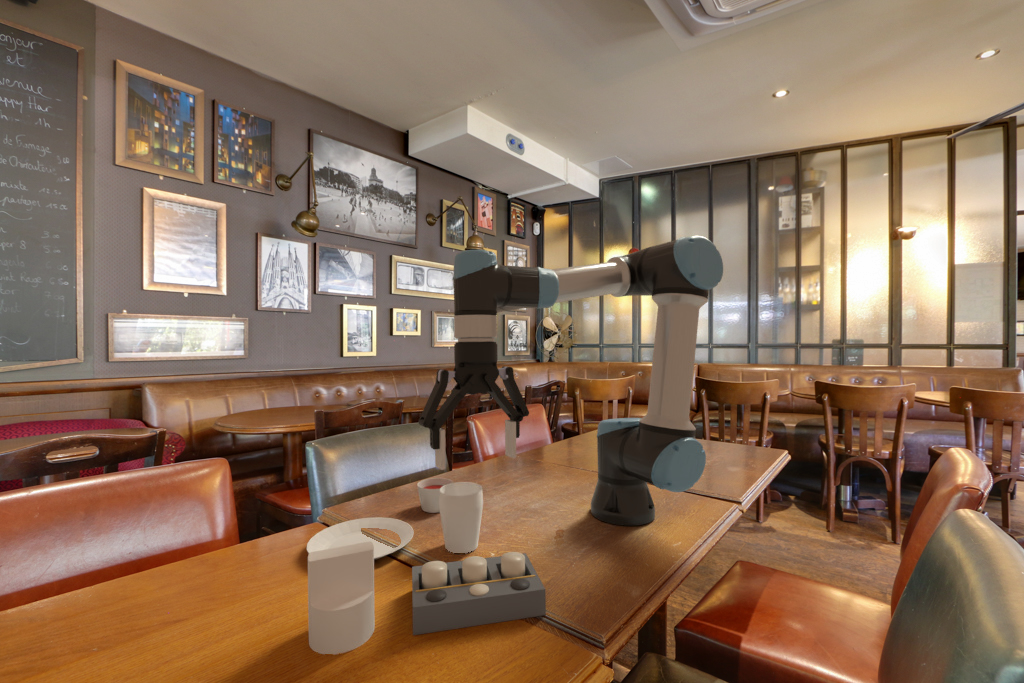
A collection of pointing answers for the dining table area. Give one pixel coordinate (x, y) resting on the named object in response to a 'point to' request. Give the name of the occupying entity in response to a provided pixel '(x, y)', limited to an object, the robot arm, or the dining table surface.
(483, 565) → the button
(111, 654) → the dining table surface
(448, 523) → the cup
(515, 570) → the button
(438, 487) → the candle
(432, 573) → the button
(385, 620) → the dining table surface
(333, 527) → the plate
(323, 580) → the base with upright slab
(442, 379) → the robot arm
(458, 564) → the board
